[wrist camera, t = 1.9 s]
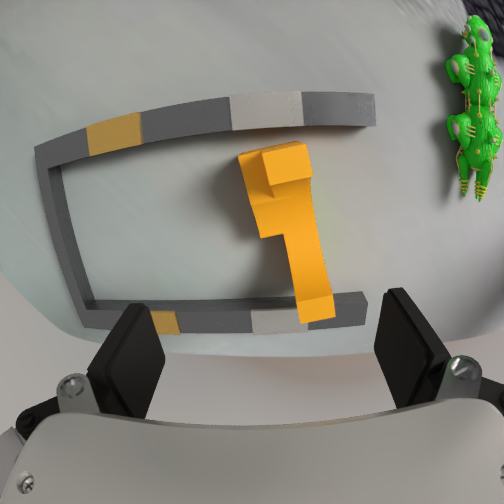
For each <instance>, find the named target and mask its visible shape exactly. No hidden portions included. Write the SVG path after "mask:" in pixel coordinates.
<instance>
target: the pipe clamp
mask: <svg viewBox="0 0 504 504" xmlns="http://www.w3.org/2000/svg"><path fill="white" fill-rule="evenodd" d="M238 159H239V163H240V166H241V170H242V174H243V178H244V181H245V185H246V189H247V193H248V197H249V200H250V204H251V207H252V210H253V213H254V216H255V219H256V222H257V226H258V230H259V233H260V237H261V238H265V237H269V236H274V235H279V234H284V239H285V244H286V248H287V253H288V258H289V263H290V268H291V274H292V279H293V285H294V291H295V298H296V304H297V309H298V314H299V318H300V323H301V324H303V323H308V322H313V321H318V320H323V319H328V318H332V317H336V316H335V307H334V299H333V293H332V290H331V287H330V283H329V280H328V276H327V272H326V268H325V263H324V259H323V255H322V250H321V246H320V241H319V236H318V231H317V226H316V221H315V215H314V209H313V203H312V196H311V187H310V178H311V177H313V173H312V168H311V164H310V159H309V155H308V150H307V146H306V144H304V143H301V142H298V141H293V142H288V143H283V144H279V145H274V146H270V147H265V148H261V149H257V150H253V151H249V152H245V153H241V154H240V155H239V156H238Z"/></svg>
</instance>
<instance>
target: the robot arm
mask: <svg viewBox="0 0 504 504" xmlns="http://www.w3.org/2000/svg"><path fill="white" fill-rule="evenodd" d="M374 351H375V354H376V357H377V359H378V362H379V364H380V366H381V369H382V371H383V374H384V376H385V379H386V381H387V384H388V387H389V389H390V392H391V394H392V397H393V400H394V402H395V405H396V408H397V409H394V410H390V411H384V412H379V413H374V414H369V415H363V416H357V417H350V418H345V419H336V420H329V421H320V422H310V423H298V424H283V425H258V426H225V425H200V424H185V423H173V422H163V421H155V420H147V419H145V417H146V414H147V411H148V408H149V405H150V403H151V400H152V397H153V394H154V391H155V389H156V386H157V383H158V380H159V378H160V375H161V372H162V369H163V366H164V364H165V355H164V352H163V349H162V346H161V343H160V340H159V337H158V334H157V331H156V328H155V325H154V322H153V319H152V316H151V312H150V309H149V307H147V306H145V304H144V303H130V304H129V305H128V306H127V308H126V309H125V311H124V312H123V314H122V315H121V317H120V318H119V320H118V321H117V323H116V324H115V326H114V327H113V329H112V330H111V332H110V333H109V335H108V336H107V338H106V340H105V341H104V343H103V344H102V346H101V348H100V349H99V351H98V352H97V354H96V355H95V357H94V359H93V360H92V362H91V364H90V365H89V367H88V369H87V370H88V373H87V374H86V376H85V375H83V374H80V373H75V374H71V375H68V376H66V377H65V378H64V379H62V380H61V381H60V383H59V384H58V386H57V396H56V397H53V398H51V399H49V400H47V401H45V402H43V403H40V404H38V405H36V406H33V407H31V408H28V409H26V410H25V411H23V412H22V413H21V414H20V415H19V416H18V418H17V421H16V428H15V429H14V428H13V427H11V428H9V429H8V430H7V431H5V432H4V433H3V434H2V435H0V504H504V384H500V383H498V382H495V381H492V380H489V379H487V378H484V377H482V369H481V366H480V365H479V363H478V362H477V361H476V360H474V359H473V358H471V357H468V356H463V355H460V356H456V357H453V358H452V357H451V356H450V354H449V352H448V351H447V349H446V348H445V346H444V345H443V343H442V342H441V340H440V339H439V337H438V336H437V334H436V333H435V331H434V330H433V328H432V327H431V325H430V324H429V323H428V321H427V320H426V318H425V317H424V316H423V314H422V313H421V311H420V310H419V309H418V307H417V306H416V305H415V303H414V302H413V300H412V299H411V298H410V296H409V295H408V294H407V292H406V291H405V290H404V289H403V288H402V287H400V288H392V289H388V291H387V293H384V295H383V301H382V307H381V312H380V318H379V323H378V328H377V333H376V338H375V343H374Z"/></svg>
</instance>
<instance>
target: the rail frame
mask: <svg viewBox="0 0 504 504" xmlns="http://www.w3.org/2000/svg"><path fill="white" fill-rule="evenodd" d="M290 126H376V114H375V100H374V94H366V93H348V92H301V91H282V92H264V93H251V94H241V95H231V96H229V97H223V98H215V99H208V100H201V101H195V102H189V103H183V104H178V105H172V106H167V107H162V108H157V109H153V110H148V111H144V112H136V113H132V114H128V115H124V116H120V117H117V118H113V119H110V120H106V121H103V122H99V123H96V124H93V125H90V126H87V127H86V128H83V129H80V130H77V131H75V132H72V133H69V134H66V135H63V136H61V137H58V138H55V139H53V140H50V141H47V142H45V143H43V144H40V145H38V146H35V147H34V150H35V158H36V165H37V171H38V177H39V183H40V188H41V193H42V198H43V203H44V207H45V212H46V216H47V220H48V224H49V228H50V232H51V235H52V239H53V242H54V246H55V249H56V253H57V256H58V259H59V262H60V265H61V268H62V271H63V274H64V277H65V280H66V283H67V286H68V288H69V291H70V294H71V296H72V299H73V301H74V304H75V307H76V309H77V311H78V314H79V316H80V319H81V321H82V323H83V326H84V327H85V328H96V329H108V330H112V329H113V327H114V326H115V324H116V323H117V321H118V320H119V318H120V317H121V315H122V314H123V312H124V311H125V309H126V308H127V306H128V305H129V304H130V303H144V304H145V306H147V307H149V309H150V312H151V316H152V319H153V322H154V325H155V328H156V331H157V334H174V335H180V334H181V333H253V334H277V333H296V332H308V330H314V329H327V328H338V327H349V326H359V325H365V319H366V313H367V306H368V302H367V300H366V298H365V296H364V294H363V292H350V293H337V294H333V299H334V307H335V316H336V317H332V318H328V319H323V320H318V321H313V322H308V323H303V324H301V323H300V318H299V314H298V309H297V304H296V298H295V296H292V297H274V298H252V299H223V300H159V301H148V300H95V299H94V296H93V293H92V290H91V287H90V284H89V281H88V278H87V275H86V272H85V269H84V266H83V263H82V260H81V256H80V253H79V249H78V246H77V242H76V238H75V235H74V231H73V227H72V223H71V219H70V214H69V210H68V206H67V201H66V196H65V191H64V186H63V180H62V175H61V169H60V165H61V164H65V163H68V162H72V161H75V160H78V159H82V158H86V157H89V156H94V155H98V154H102V153H106V152H110V151H114V150H118V149H122V148H127V147H132V146H136V145H141V144H145V143H150V142H156V141H161V140H167V139H173V138H179V137H185V136H192V135H199V134H206V133H214V132H223V131H234V130H244V129H257V128H271V127H290Z"/></svg>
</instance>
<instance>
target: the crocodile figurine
mask: <svg viewBox="0 0 504 504" xmlns="http://www.w3.org/2000/svg"><path fill="white" fill-rule="evenodd" d="M464 27H465V29H466V30H465V31H464V33H463V31H462V35H463V36H464V37H465V40H466V42H467V43H468V44H469V47H468V48H466V49H465V50H464V53H463V55H462V54H456V55H453V56H452V57H451V59H449V60H447V61H446V70H447V73H448V75H449V77H450V79H451V81H452V82H453V84H454V83H455V82H457V83H462V85H463V86H464V87H465V90H464V91H462V94H464V95H465V112H464V113H462V114H458V115H450V116H449V117H448V118H447V129H448V132H449V135H450V137H451V139H452V141H454V140H459V142H460V144H461V146H462V147H461V146H460V149H459V151H460V152H459V151H458V154H460V153H461V155H460V156H458V154H457V155H456V162H457V166H458V165H459V166H458V171H459V169H460V171H459V173H460V176H461V179H459V181H460V182H461V183H460V185H461V186H462V187H461V189H462V192H463V196H465V193H466V192H467V190H466V189H468V187H467V186H468V183H467V182H469V180H468V172H469V167H470V168H471V169H473V170H475V171H476V181H475V182H474V183H475V184H476V185H475V186H474V187H476V189H474V190H475V191H476V192H475V194H476V199H477V197H479V202H480V201H481V198H483V196H485V194H484V193H486V190H487V189H488V187H487V184H488V182H489V179H490V176H491V173H492V170H493V160H494V159H497V156H496V155H495V153H496V152H497V151H498V149H499V148H500V147H501V145H502V132H501V131H500V129H499V128H498V127H497V126H496V123H497V124H499V121H496V120H495V101H497V100H498V101H499V99H497V98H496V95H497V94H498V93H499V91H501V89H502V79H501V77H500V75H499V74H498V73H497V72H496V71H495V70H494V68H493V66H495V65H496V63H495V62H492V54H491V52H492V46H491V44H492V42H493V38H492V36H491V33H490V30H489V28H488V26H487V25H486V24H485V23H484V22H483V21H482V20H481V19H480V18H479V16H477V15H474V16H468V17H467V22H466V25H464ZM489 53H490V54H491V57H490V55H489ZM466 96H467V99H468V100H467V101H469V106H467V104H466V102H467V101H466ZM470 103H471V104H470ZM493 104H494V106H493ZM466 106H467V107H468V109H467V110H466ZM491 106H493V107H494V111H491ZM488 108H489V109H488ZM493 112H494V115H493ZM461 150H463V152H461ZM462 153H464V154H462ZM457 156H458V161H457ZM485 189H486V190H485Z"/></svg>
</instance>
